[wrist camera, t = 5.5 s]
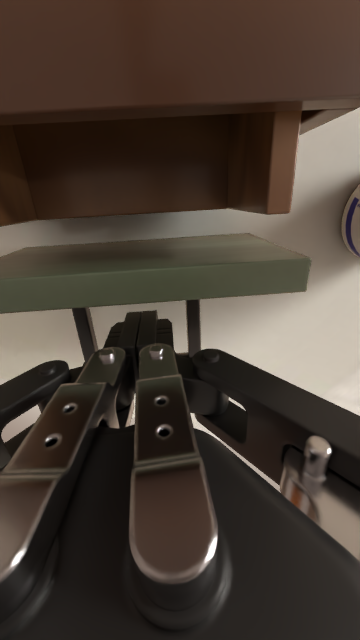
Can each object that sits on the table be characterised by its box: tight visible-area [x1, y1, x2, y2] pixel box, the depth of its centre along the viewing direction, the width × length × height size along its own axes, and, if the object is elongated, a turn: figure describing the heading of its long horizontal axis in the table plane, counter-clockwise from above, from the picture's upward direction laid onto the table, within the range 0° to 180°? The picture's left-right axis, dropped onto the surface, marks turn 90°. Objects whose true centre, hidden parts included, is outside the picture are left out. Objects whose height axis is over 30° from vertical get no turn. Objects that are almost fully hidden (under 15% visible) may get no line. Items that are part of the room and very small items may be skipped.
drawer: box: [0, 110, 311, 366], centre depth 10 cm, size 21×13×7 cm, turn 3°
